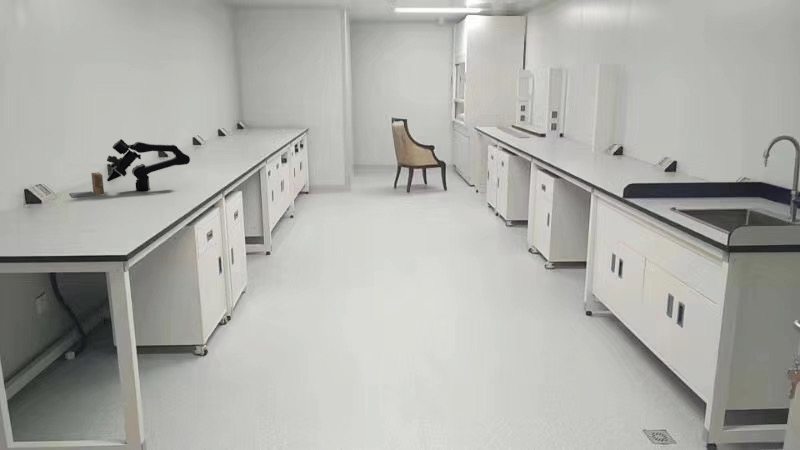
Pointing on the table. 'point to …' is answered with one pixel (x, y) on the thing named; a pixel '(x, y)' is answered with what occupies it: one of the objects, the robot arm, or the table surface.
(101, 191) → the walnut block
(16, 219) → the table surface
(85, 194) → the mat
